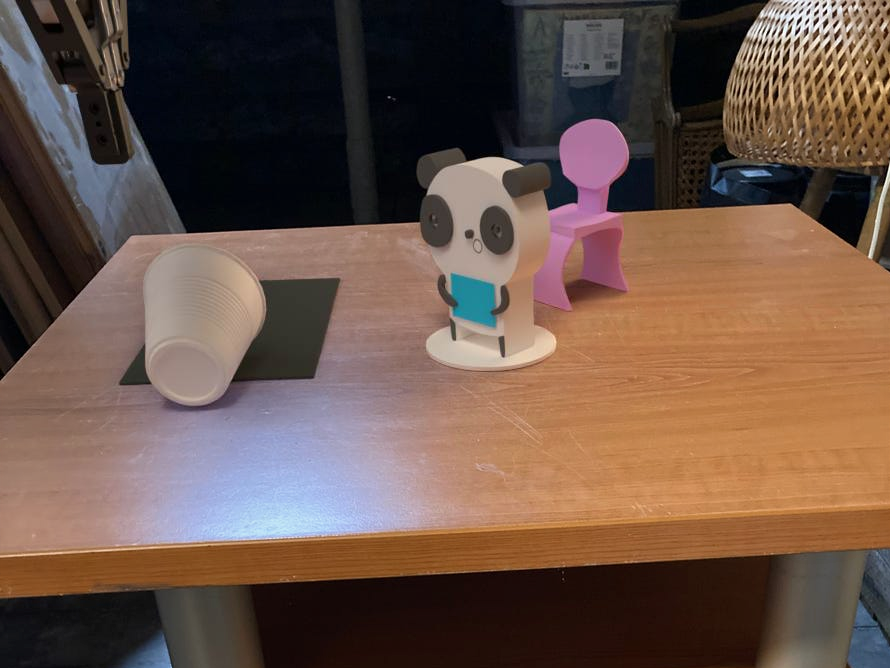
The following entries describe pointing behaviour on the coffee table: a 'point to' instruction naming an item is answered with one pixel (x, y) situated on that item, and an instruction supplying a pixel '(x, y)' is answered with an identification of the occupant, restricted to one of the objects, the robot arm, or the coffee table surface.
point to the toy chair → (586, 212)
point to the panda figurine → (486, 258)
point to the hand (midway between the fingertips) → (114, 161)
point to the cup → (198, 321)
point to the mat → (278, 333)
